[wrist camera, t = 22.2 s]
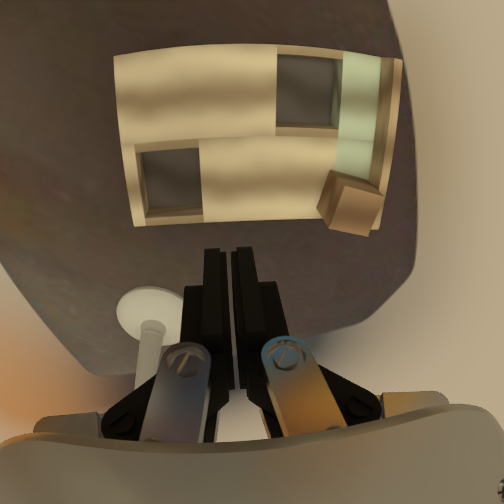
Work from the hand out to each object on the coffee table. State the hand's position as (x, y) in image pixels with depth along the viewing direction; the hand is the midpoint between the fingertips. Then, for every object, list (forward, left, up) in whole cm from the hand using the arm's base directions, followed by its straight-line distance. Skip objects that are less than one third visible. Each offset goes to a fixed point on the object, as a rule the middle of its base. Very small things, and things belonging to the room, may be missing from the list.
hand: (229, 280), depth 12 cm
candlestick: (+28, -12, -27) cm, 41 cm away
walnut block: (+7, +14, -24) cm, 28 cm away
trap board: (0, +3, -27) cm, 27 cm away
